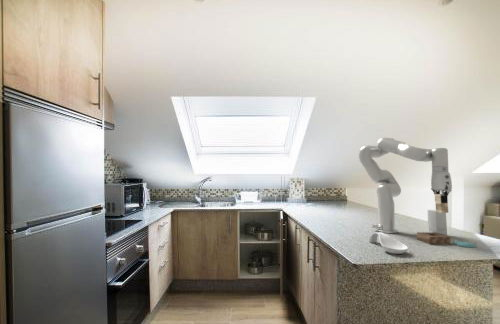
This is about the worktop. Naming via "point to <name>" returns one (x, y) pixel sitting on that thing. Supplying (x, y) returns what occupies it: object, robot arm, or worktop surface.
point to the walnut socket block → (433, 238)
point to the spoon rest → (389, 243)
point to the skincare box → (437, 222)
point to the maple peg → (440, 204)
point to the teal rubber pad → (464, 244)
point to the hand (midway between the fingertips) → (441, 202)
